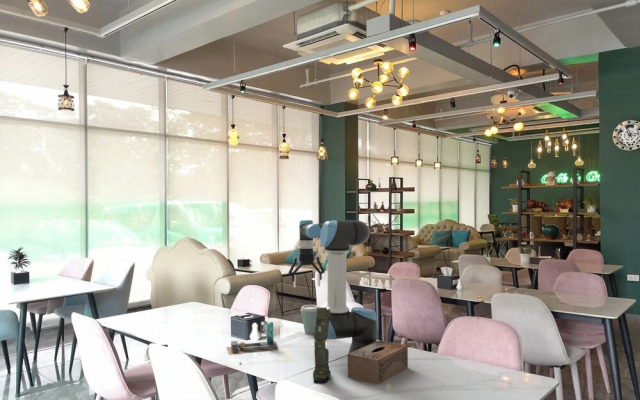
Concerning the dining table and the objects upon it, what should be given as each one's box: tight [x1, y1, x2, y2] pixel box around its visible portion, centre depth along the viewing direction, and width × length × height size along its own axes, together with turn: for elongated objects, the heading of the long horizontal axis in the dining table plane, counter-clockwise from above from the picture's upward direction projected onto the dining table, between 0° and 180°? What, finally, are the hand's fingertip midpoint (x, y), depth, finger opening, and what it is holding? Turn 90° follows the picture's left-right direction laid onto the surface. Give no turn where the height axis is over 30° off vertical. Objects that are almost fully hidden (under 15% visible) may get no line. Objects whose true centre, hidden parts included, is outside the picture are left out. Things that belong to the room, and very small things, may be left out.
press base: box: [226, 340, 279, 356], centre depth 241 cm, size 24×13×5 cm, turn 105°
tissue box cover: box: [347, 339, 409, 386], centre depth 209 cm, size 26×14×10 cm, turn 143°
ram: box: [259, 321, 278, 346], centre depth 244 cm, size 8×4×11 cm, turn 105°
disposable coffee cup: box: [300, 304, 319, 335], centre depth 276 cm, size 11×11×15 cm
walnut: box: [238, 341, 246, 350], centre depth 240 cm, size 4×4×4 cm
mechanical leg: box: [312, 306, 332, 385], centre depth 203 cm, size 14×7×30 cm, turn 168°
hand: (306, 286), depth 269 cm, fingers open, 13 cm apart
